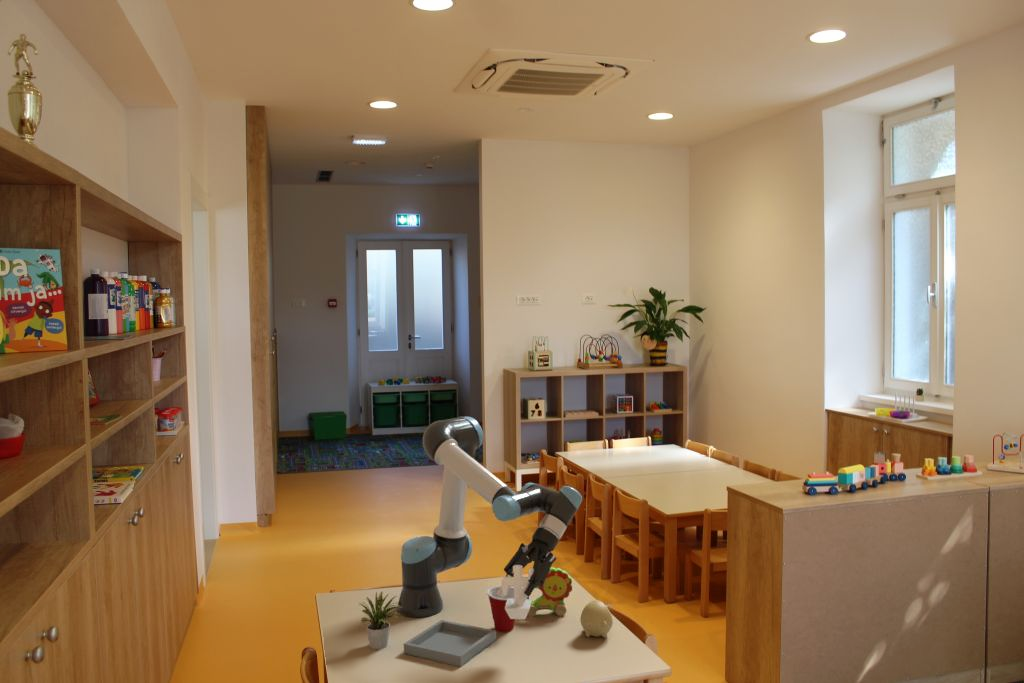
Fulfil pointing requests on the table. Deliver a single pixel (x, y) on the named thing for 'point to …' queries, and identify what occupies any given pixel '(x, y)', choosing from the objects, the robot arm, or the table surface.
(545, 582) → the toy lion
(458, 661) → the tray
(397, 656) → the table surface
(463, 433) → the robot arm
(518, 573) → the figurine
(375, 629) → the house plant
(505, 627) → the plastic cup
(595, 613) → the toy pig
